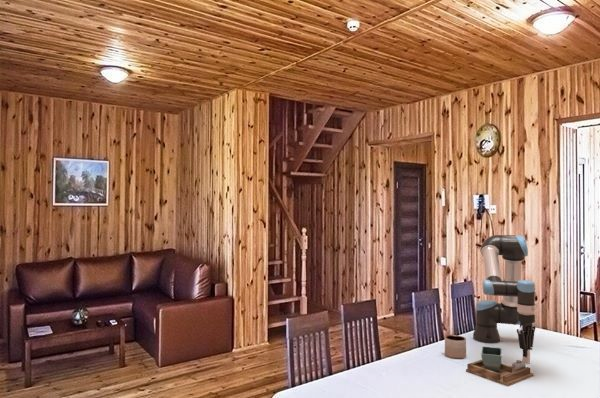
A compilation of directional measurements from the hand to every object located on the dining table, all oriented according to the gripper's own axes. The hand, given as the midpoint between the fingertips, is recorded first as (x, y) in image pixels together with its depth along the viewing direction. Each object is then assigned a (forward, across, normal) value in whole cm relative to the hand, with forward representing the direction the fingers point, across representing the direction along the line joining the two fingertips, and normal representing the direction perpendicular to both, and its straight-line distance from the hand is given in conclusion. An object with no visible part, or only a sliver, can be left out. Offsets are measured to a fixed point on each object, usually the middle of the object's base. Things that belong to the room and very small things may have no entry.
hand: (526, 363), depth 209 cm
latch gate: (+4, -6, 0) cm, 7 cm away
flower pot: (+4, -12, +10) cm, 16 cm away
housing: (+5, -11, +7) cm, 14 cm away
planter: (+5, -6, +35) cm, 36 cm away
